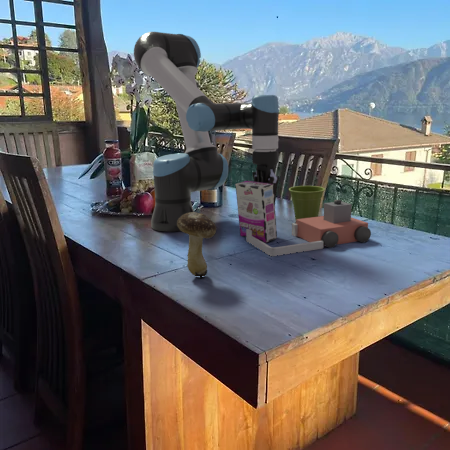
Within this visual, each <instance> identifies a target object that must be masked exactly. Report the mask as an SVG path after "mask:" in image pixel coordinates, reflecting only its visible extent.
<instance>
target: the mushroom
mask: <svg viewBox="0 0 450 450" xmlns="http://www.w3.org/2000/svg"><path fill="white" fill-rule="evenodd" d="M177 226H178V228H179V229H180V230H181V231H180V232H182V233H184V234H186V235H188V250H187V254H186V256H187V265H186V266H187V269H188V271H189V273H191V274H192V276H194V277H195V276H200V277H202V276H205V275H207V274H208V264H207V262H206V259H205V257H204V255H203V240H204V239H211V238H213V237H214V236H215V234H216V232H217V226H216V224H215V223H214V221H213V220H212V219H211V218H210V217H209V216H207V215H206V214H204V213H200V212H195V211H194V212H190V213H186V214H184V215H182V216H181V217H180V218H179V219H178V221H177Z"/></svg>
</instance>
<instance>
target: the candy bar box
mask: <svg viewBox="0 0 450 450" xmlns="http://www.w3.org/2000/svg"><path fill="white" fill-rule="evenodd" d="M234 185H235V192H236V203H237V204H236V206H237V214H238V224H239V225H238V226H239V234H240V237H244V238H246V229H250V230H252V236H253V237H255V238H257V239H258V240H260V241H262V242H264V243H265V244H267V243H269V242H272V241H274V240H276V239H277V238H278V232H277V218H276V201H274V187H273V184H268V183H261V182H254V180H251V181H250V180H244V181H241V182H238V183H235V184H234Z"/></svg>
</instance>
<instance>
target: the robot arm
mask: <svg viewBox="0 0 450 450" xmlns="http://www.w3.org/2000/svg"><path fill="white" fill-rule="evenodd" d="M133 58H134V61H135V63H136V65H137V66H138V68H139V69H140V70H141V72H142V73H144V75H146V76H150V77H152V78H153V79H154V81H156V82H157V83H158V85H159V86H160V87H162V89H163V90H164V91H165V92H166V94H168V95H169V96H170V98H171V99H173V100H174V103H175V106H176V108H175V109H176V111H177V114H178V119H179V120H178V121H179V123H180V128H181V131H182V136H183V139H184V143H185V148H186V149H185V152H184V153H183V152H180V153H179V152H178V153H170V154H165V155H162V156H161V155H160V156H159V157H157V158H155V160H154V161H153V164H152V168H153V171H152V174H153V184H154V185H153V186H154V188H153V189H154V199H155V200H154V202H155V203H154V204H155V205H154V209H153V212H152V216H151V220H150V225H151V229H152V230H154V231H159V232H169V233H170V232H174V233H175V232H182V231H181V230H180V229H179V228H178V226H177V221H178V219H179V218H180V217H181V216H182V215H184V214H186V213H190V212H195V210H194V207H193V204H192V193H193V192H200V191H206V190H213V189H216V188H219V187H221V186H223V185H224V184H225V182H226V181H227V178H228V177H229V162H228V160H227V158H226V157H225V156H224V155H223V154H222V153H219V152H218V149H217V148H218V147H217V146H216V145H214V144H213V143H212V142H211V139H210V135H209V132H210V131H211V132H212V131H214V132H215V131H226V130H230V131H231V130H252V131H251V132H252V133H251V134H252V135H251V148H252V150H253V151H252V153H251V154H252V156H251V157H252V158H251V160H252V164H253V165H256V167H255V168H256V171H253V172H251V173H252V178H253V182H261V183H268V184H273V187H274V201H275V202H276V201H277V200H276V199H277V193H278V192H277V191H278V185H279V184H278V183H279V181H280V176H279V175H276V174H275V173H276V172H275V171H276V170H275V165H277V164H278V163H279V151H278V149H279V141H280V139H279V118H280V117H279V113H280V107H279V98H278V96H277V95H274V94H259V95H258V94H257V95H253V96H252V98H251V102H241V103H240V102H232V103H231V102H230V103H222V102H221V103H216V102H213V101H212V100H211V99H210V98H209V97H208V96H206V94H205V93H204V92H203V91H202V90H201V89H199V87H198V84H197V82H196V77H195V76H196V74H197V73H198V68H199V66H200V64H201V58H202V54H201V48H200V46H199V44H198V42H197V41H196V39H194V38H193V37H192V36H190V35H185V34H182V33H167V32H159V31H148V32H145V33H143V34H142V35H141V36H139V38H138V39H137V41H136V42H135V45H134V47H133Z"/></svg>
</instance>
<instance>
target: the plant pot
mask: <svg viewBox="0 0 450 450" xmlns="http://www.w3.org/2000/svg"><path fill="white" fill-rule="evenodd" d="M325 190H326V188H325V187H322V186H320V185H319V186H317V185H298V186H291V187H289V188H288V191H289V192H290V197H291V200H292V205H293V213H294V219H295V220H294V221H296V219H303V218H311V217H319V213H320V207H321V201H322V198H323V194H324V191H325Z"/></svg>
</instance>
